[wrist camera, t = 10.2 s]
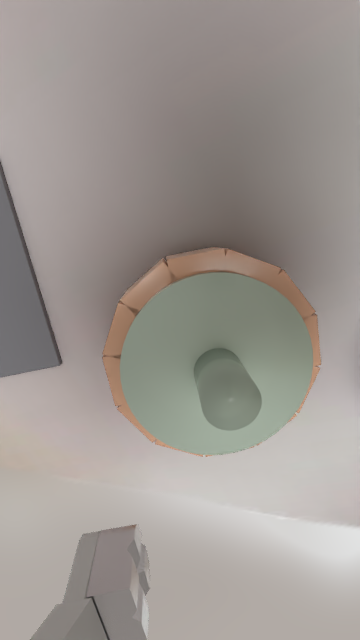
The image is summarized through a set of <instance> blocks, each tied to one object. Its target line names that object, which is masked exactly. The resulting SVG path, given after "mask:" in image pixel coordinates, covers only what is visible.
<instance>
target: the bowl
mask: <svg viewBox="0 0 360 640" xmlns="http://www.w3.org/2000/svg"><path fill="white" fill-rule="evenodd" d="M166 259H167V262H166V261H165V260H164V258H162V259H161V260H160V261H159V262H158V263H156V264H155V265H154V266H153V267H152V268H151V269H150V270H149V271H147V272H146V273H145V274H144V275H143V276H142V277H141V278H140V279H138V280H137V281H136V282H135V283H134V284H133V285H132V286H131V287H129V288H128V289H127V291H126V292H125V294H124V295H123V296H122V298H121V299H120V301H119V302H118V305H117V308H116V311H115V314H114V318H113V321H112V324H111V327H110V331H109V334H108V337H107V341H106V344H105V347H104V350H103V357H102V359H103V362H104V366H105V370H106V374H107V377H108V381H109V385H110V388H111V392H112V396H113V399H114V403H115V406H118V408H117V409H118V410H119V411H120V412H121V413H122V414H123V415H124V416H125V417H126V418H127V419H128V420H129V421H130V422H131V423H132V424H133V425H134V426H135V427H137V428H138V429H139V430H140V431H141V432H142V433H143V434H144V435H145V436H146V437H147V438H148V439H149V440H150V441H151V442H154V441H155V444H157V445H160V446H164V447H168V448H172V449H175V450H179V449H176V448H173V447H171V446H169V445H167V444H165V443H163V442H162V441H160V440H158V439H157V438H155V437H154V436H153V435H152V434H150V433H149V432H148V431H147V430H146V429H145V428H144V427H143V426H142V425H141V424H140V423H139V422H138V420H137V419H136V418H135V416H134V415H133V413H132V412H131V410H130V408H129V406H128V404H127V402H126V399H125V396H124V393H123V390H122V385H121V380H120V359H121V353H122V348H123V344H124V341H125V339H126V336H127V333H128V331H129V328H130V326H131V324H132V322H133V320H134V318H135V317H136V315H137V314H138V312H139V311H140V310H141V308H142V307H143V306H144V305H145V303H146V302H147V301H148V300H149V299H150V298H151V297H152V296H154V295H155V294H156V293H157V292H159V291H160V290H161V289H163V288H164V287H166V286H168V285H169V284H171V283H173V282H175V281H177V280H179V279H182V278H184V277H187V276H191V275H194V274H198V273H205V272H231V273H237V274H241V275H245V276H249V277H251V278H253V279H256V280H258V281H261V282H263V283H265V284H267V285H269V286H271V287H272V288H274V289H276V290H277V291H278V292H280V293H281V294H282V295H283V296H285V297H286V298H287V299H288V300H289V301H290V302H291V303H292V305H293V306H294V307H295V308H296V309H297V311H298V312H299V314H300V315H301V317H302V319H303V321H304V323H305V325H306V327H307V329H308V332H309V335H310V338H311V343H312V349H313V370H312V376H311V381H310V385H309V388H308V390H307V393H306V395H305V398H304V399H303V401H302V403H301V405H300V407H299V408H298V410H297V411H296V412H297V413H299V412H300V410H301V408H302V406H303V404H304V401H305V399H306V397H307V395H308V393H309V391H310V389H311V387H312V385H313V383H314V381H315V378H316V376H317V374H318V372H319V370H320V368H319V367H318V365H321V359H320V347H319V334H318V322H317V315H316V314H314V313H315V312H316V311H315V310H314V309H313V308H312V306H311V305H310V304H309V302H308V301H307V300H306V298H305V297H304V296H303V294H302V293H301V292H300V290H299V289H298V288H297V287H296V285H295V284H294V283H293V281H292V280H291V279H290V277H289V276H288V275H287V273H286V272H285V271H284V270H282V269H281V268H280V267H277V266H274V265H272V264H269V263H266V262H263V261H261V260H258V259H255V258H252V257H250V256H247V255H244V254H241V253H239V252H236V251H233V250H230V249H227V248H218V247H210V248H205V249H200V250H195V251H190V252H185V253H180V254H175V255H169V256H166ZM296 416H297V415H296V414H294V415H293V417H292V418H291V419H290V420H292V419H293V418H294V417H296ZM290 420H289V421H290ZM289 421H288V422H289ZM288 422H287V423H288ZM259 444H260V443H259ZM259 444H257V445H259ZM253 447H254V446H253ZM250 448H252V447H250ZM179 451H182V450H179ZM183 452H185V451H183ZM187 453H189V452H187ZM190 454H194V453H190ZM194 455H198V456H202V457H203V455H201V454H194ZM207 456H212V455H206V457H207Z"/></svg>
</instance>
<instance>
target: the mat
mask: <svg viewBox="0 0 360 640" xmlns="http://www.w3.org/2000/svg"><path fill="white" fill-rule="evenodd" d="M61 364H62V361H61V357H60V354H59V351H58V348H57V344H56V341H55V338H54V335H53V331H52V328H51V325H50V322H49V318H48V315H47V312H46V309H45V305H44V302H43V299H42V296H41V292H40V289H39V286H38V283H37V279H36V276H35V273H34V270H33V266H32V263H31V260H30V257H29V254H28V250H27V247H26V244H25V241H24V237H23V234H22V231H21V228H20V224H19V221H18V218H17V215H16V211H15V208H14V205H13V202H12V198H11V195H10V192H9V189H8V185H7V182H6V179H5V176H4V172H3V169H2V166H1V163H0V377H5V376H10V375H15V374H20V373H25V372H30V371H35V370H40V369H45V368H50V367H55V366H60V365H61Z"/></svg>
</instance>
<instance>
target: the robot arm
mask: <svg viewBox="0 0 360 640" xmlns="http://www.w3.org/2000/svg"><path fill="white" fill-rule="evenodd" d="M141 537H142V533H141V531H140V527H139V525H137V524H136V525H130V526H125V527H119V528H113V529H107V530H101V531H98V532H91V533H86V534H83V535H82V537H81V538H80V540H79V543H78V547H77V550H76V554H75V558H74V562H73V565H72V569H71V573H70V577H69V581H68V584H67V588H66V592H65V595H64V599H63V603H62V604H57V605H56V606H55V607H54V609H53V610H52V611H51V613H50V614H49V615H48V617H47V618H46V619H45V620H44V622H43V623H42V624H41V626H40V627H39V628H38V630H37V631H36V632H35V634H34V635H33V636H32V638H31V639H30V640H148V621H149V620H148V619H149V607H148V604H147V601H146V598H145V596H146V594H147V592H148V591H149V589H150V570H149V560H148V554H147V550H146V546H145V545H143V544H142V543H141Z"/></svg>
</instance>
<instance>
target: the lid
mask: <svg viewBox="0 0 360 640" xmlns="http://www.w3.org/2000/svg"><path fill="white" fill-rule="evenodd" d="M312 370H313V349H312V343H311V338H310V335H309V332H308V329H307V327H306V325H305V323H304V321H303V319H302V317H301V315H300V314H299V312H298V311H297V309H296V308H295V307H294V306H293V305H292V303H291V302H290V301H289V300H288V299H287V298H286V297H285V296H283V295H282V294H281V293H280V292H278V291H277V290H276V289H274V288H272V287H271V286H269V285H267V284H265V283H263V282H261V281H258V280H256V279H253V278H251V277H249V276H245V275H241V274H237V273H231V272H205V273H198V274H194V275H191V276H187V277H184V278H182V279H179V280H177V281H175V282H173V283H171V284H169V285H168V286H166V287H164V288H163V289H161V290H160V291H159V292H157V293H156V294H155V295H154V296H152V297H151V298H150V299H149V300H148V301H147V302H146V303H145V305H144V306H143V307H142V308H141V310H140V311H139V312H138V314H137V315H136V317H135V318H134V320H133V322H132V324H131V326H130V328H129V331H128V333H127V336H126V339H125V341H124V344H123V348H122V353H121V359H120V380H121V385H122V390H123V393H124V396H125V399H126V402H127V404H128V406H129V408H130V410H131V412H132V413H133V415H134V416H135V418H136V419H137V420H138V422H139V423H140V424H141V425H142V426H143V427H144V428H145V429H146V430H147V431H148V432H149V433H150V434H152V435H153V436H154V437H155V438H157V439H158V440H160V441H162V442H163V443H165V444H167V445H169V446H171V447H173V448H176V449H179V450H182V451H185V452H189V453H194V454H201V455H223V454H229V453H234V452H238V451H242V450H245V449H248V448H250V447H253V446H255V445H257V444H259V443H261V442H263V441H265V440H267V439H268V438H269V437H271V436H272V435H274V434H275V433H276V432H278V431H279V430H280V429H281V428H282V427H283V426H284V425H285V424H286V423H287V422H288V421H289V420H290V419H291V418H292V417H293V415H294V414H295V413H296V411H297V410H298V408H299V407H300V405H301V403H302V401H303V399H304V398H305V395H306V393H307V390H308V388H309V385H310V381H311V376H312Z"/></svg>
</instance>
